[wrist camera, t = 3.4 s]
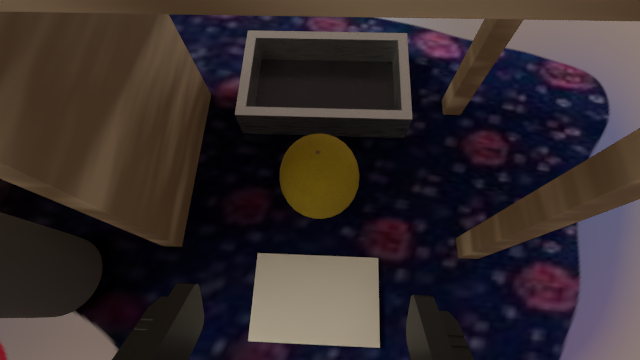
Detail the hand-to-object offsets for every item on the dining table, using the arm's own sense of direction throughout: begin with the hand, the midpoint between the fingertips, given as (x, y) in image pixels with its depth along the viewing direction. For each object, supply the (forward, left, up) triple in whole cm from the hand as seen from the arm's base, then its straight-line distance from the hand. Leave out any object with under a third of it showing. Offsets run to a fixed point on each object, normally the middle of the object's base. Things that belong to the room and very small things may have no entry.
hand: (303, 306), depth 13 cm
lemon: (0, +9, -13) cm, 15 cm away
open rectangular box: (0, +19, -12) cm, 22 cm away
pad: (0, +1, -12) cm, 12 cm away
